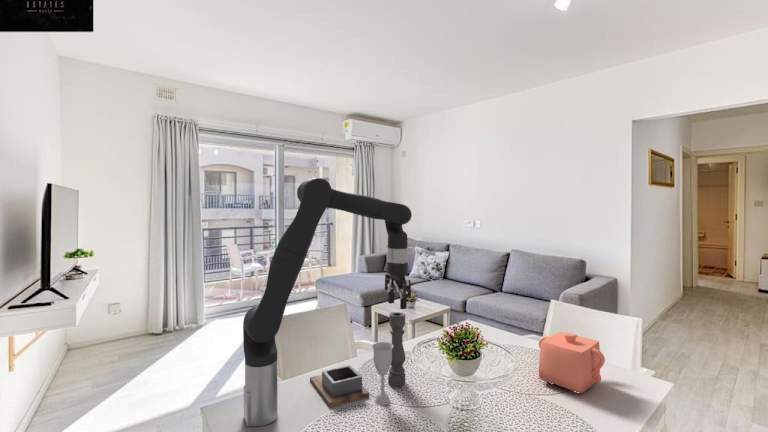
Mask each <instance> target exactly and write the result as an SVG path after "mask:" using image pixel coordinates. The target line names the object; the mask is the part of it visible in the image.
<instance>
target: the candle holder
mask: <svg viewBox="0 0 768 432" xmlns="http://www.w3.org/2000/svg"><path fill="white" fill-rule="evenodd" d="M388 319H389V322H388V323H389V325H390V327H391V329H390V330H389V333H390V334H391V344H393V348H392V362H391V365H390V368H389V370H388V372H387V376H388V379H387V380H388V381H387V384H388V386H389V387H392V388H396V387H398V388H402V387H405V386H406V373H405V372H406V371H405V368H404V363H405V362H406V353H405V349H404V344H403V343H404V342H403V336H404V335H405V330H404V327H405V324H406V313H405V312H401V311H393V312H389V318H388ZM398 388H397V389H398Z"/></svg>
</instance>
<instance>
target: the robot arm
mask: <svg viewBox="0 0 768 432" xmlns="http://www.w3.org/2000/svg"><path fill="white" fill-rule="evenodd" d="M296 196H297V198H298V201H299V202H300V204H299V206H298V209H297V211H296V214H295V217H294V218H293V220H292V221H291V223H290V224H289V226H288V227H287V228H286V230H285V231H284V233H283V234H282V236H281V238H280V239H279V241H278V243H277V245H276V248H275V250H274V253H273V255H272V258H271V260H270V264H269V268H268V272H267V279H266V286H265V289H264V293H263V295H262V298H261V299H260V302H259V304H257V305H254V306H252V307H251V308H249V309H248V310H247V312H245V315H244V317H243V322H242V323H243V325H242V333H243V334H242V336H243V340H242V341H243V354H244V386H243V419H244V421H245V425H246V427H261V426H267V425H269V424H271V423H273V422H274V421H275V420H276V419H277V418H278V410H279V409H278V408H279V406H278V349H277V343H276V336H277V334H278V332H279V330H280V328H281V325H282V321H283V317H284V313H285V310H286V306H287V303H288V300H289V298H290V296H291V292H292V291H293V288H294V286H295V284H296V282H297V279H298V277H299V274H300V272H301V270H302V268H303V266H304V263H305V259H306V257H307V255H308V252H309V249H310V246H311V244H312V241H313V239H314V235H315V232H316V230H317V227H318V224H319V223H320V222H321V221H320V220H321V218H322V217H323V215H324V213H325V211H326V209H333V210H337V211H342V212H346V213H350V214H353V215H357V216H361V217H365V218H369V219H373V220H378V221H379V220H381V221H384V225H385V230H386V233H387V253H386V273H387V274H386V273H385V275H384V290H385V291H386V292H387V295H388V296H387V303H388V304H390V305H391V304H394V303H395V291H396V292H397V293H398V294H399V297H400V299H399V306H400V307H399V309H401V310H406V309H407V308H408V305H407V303H408V298H411V296H412V286H411V285H412V283H411V280H410V279H406V275H408V274H409V251H408V249H409V248H408V240H409V239H408V234H407V232H406V231H404V230H403V229H404V228H403V226H404V225H406V224H408V223H409V222H410V221H411V219H412V211H411V209H410V208H409V206H407V205H405V204H403V203H397V202H392V201H386V200H382V199H379V198H375V197H372V196H367V195H364V194H360V193H359V194H358V193H351V192H347V191H346V192H345V191H341V190H338V189H337V190H336V189H334V188H332V186H331V184H330V182H329V181H328V180H326V179H325V178H322V177H313V178H308V179H305V180H304V181H302V182H301V183H299V186H298V187H297V190H296Z"/></svg>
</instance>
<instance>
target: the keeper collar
mask: <svg viewBox="0 0 768 432" xmlns="http://www.w3.org/2000/svg"><path fill="white" fill-rule="evenodd" d="M321 375H322V386H323V387H324V388H325V390H326V391H327V392H328V393H329V395H330V396H331V397H332V398H333V399H334V398H338V397H342V396H346V395H350V394H354V393H358V392H362V386H363V376H362V375H361V374H360V373H359V372H358V371H357V370H356V369H355V368H354V367H352V365H350V364H349V365H343V366H340V367H335V368H330V369H325V370H322V371H321Z"/></svg>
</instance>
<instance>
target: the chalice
mask: <svg viewBox="0 0 768 432" xmlns="http://www.w3.org/2000/svg"><path fill="white" fill-rule="evenodd" d="M371 348H372V350H373V364H374V367H375V370H376V371H377V373H378V374H379V375H380V376H381V378H380V380H379V381H380V385H379V387H380V391H379V392H378V393H377V394H376V397H375V399H374V402H375V403H376V404H377V405H379V406H383V405H384V406H385V405H388V404H390V403H391V399H390V396H389V394H388V393H387V392H385V387H386V385H385V382H386V379H385V376H386V375H388V373H389V369H390V367H391V362H392V348H393V344H392V342H386V341H385V342H384V341H383V342H376V343H374V344H373V345H372V347H371Z"/></svg>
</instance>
